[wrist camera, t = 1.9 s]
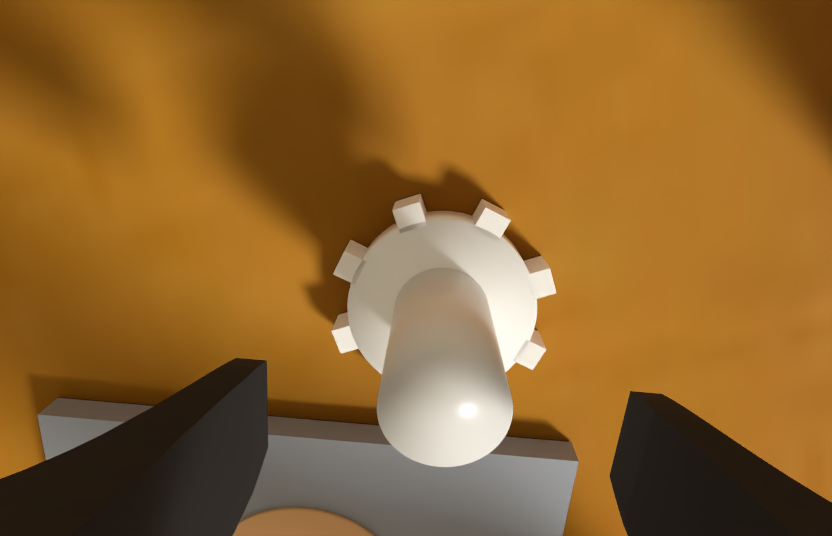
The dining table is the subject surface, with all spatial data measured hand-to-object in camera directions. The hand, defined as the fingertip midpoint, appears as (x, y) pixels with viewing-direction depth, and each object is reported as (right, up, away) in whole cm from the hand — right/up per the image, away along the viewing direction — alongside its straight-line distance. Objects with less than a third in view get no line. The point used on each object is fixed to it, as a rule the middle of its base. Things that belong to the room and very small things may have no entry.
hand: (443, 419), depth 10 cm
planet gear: (0, +2, +6) cm, 7 cm away
